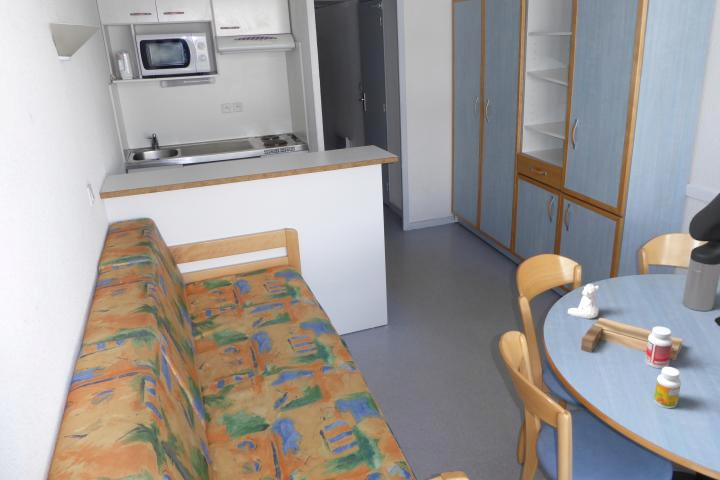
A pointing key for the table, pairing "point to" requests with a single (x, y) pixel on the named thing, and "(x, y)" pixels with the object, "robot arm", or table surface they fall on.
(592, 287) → the seated beast figurine
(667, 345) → the pill bottle
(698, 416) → the table surface
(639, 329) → the wooden l-shaped block
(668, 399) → the supplement bottle
